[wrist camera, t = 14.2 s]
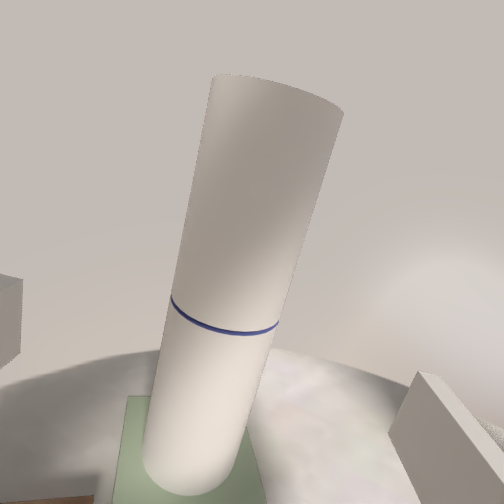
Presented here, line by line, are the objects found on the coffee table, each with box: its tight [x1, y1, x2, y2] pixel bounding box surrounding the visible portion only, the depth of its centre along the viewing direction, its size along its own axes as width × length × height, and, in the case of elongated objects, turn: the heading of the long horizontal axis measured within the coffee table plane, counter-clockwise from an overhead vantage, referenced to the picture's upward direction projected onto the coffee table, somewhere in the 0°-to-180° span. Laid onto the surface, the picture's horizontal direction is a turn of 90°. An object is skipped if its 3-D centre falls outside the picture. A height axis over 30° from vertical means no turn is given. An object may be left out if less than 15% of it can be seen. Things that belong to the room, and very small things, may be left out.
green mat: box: [112, 396, 267, 504], centre depth 24 cm, size 10×10×1 cm
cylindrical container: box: [141, 74, 344, 496], centre depth 20 cm, size 7×7×25 cm
